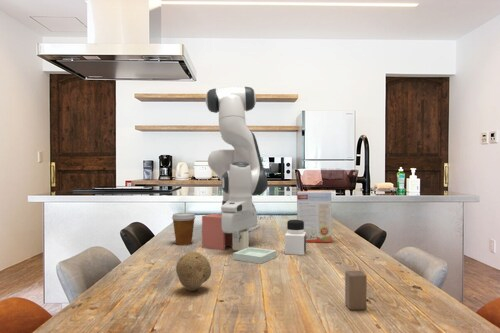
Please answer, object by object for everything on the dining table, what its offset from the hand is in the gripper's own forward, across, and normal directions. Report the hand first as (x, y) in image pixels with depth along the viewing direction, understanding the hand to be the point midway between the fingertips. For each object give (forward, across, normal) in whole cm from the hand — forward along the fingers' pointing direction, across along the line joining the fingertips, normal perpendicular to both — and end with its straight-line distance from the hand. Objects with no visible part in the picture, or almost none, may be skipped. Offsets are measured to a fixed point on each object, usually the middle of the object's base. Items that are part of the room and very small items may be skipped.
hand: (240, 241), depth 155 cm
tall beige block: (+3, 0, 0) cm, 3 cm away
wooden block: (+3, +38, +55) cm, 67 cm away
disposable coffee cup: (+3, +2, -26) cm, 26 cm away
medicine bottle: (+3, -6, +20) cm, 21 cm away
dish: (+3, +9, +12) cm, 15 cm away
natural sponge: (+3, +47, +15) cm, 49 cm away
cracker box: (+3, -29, +18) cm, 34 cm away
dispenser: (+3, 0, -10) cm, 10 cm away
